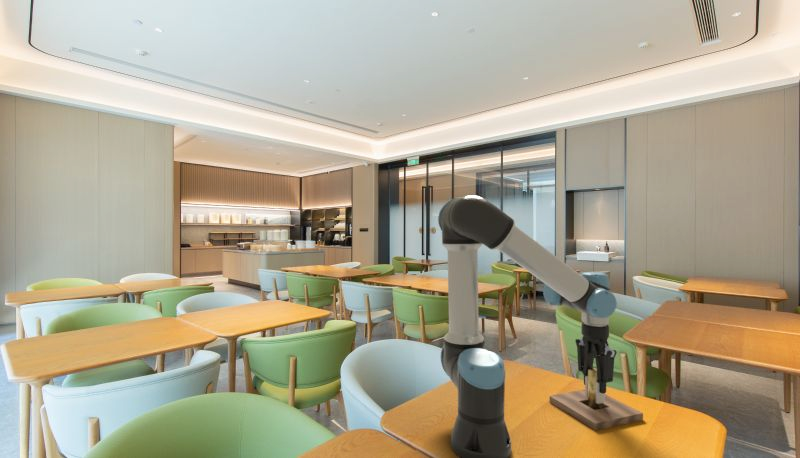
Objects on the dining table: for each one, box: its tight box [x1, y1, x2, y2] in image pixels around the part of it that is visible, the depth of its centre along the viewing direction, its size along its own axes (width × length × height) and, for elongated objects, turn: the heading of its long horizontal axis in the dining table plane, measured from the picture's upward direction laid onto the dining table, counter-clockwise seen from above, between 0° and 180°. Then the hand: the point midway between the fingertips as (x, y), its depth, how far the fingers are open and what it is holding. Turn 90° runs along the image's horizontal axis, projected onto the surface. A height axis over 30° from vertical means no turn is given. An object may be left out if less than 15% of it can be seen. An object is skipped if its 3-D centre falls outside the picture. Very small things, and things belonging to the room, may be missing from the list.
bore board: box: [549, 389, 644, 431], centre depth 116 cm, size 18×18×2 cm
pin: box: [587, 367, 602, 410], centre depth 116 cm, size 4×4×12 cm
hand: (594, 399), depth 116 cm, fingers closed on pin, 3 cm apart
